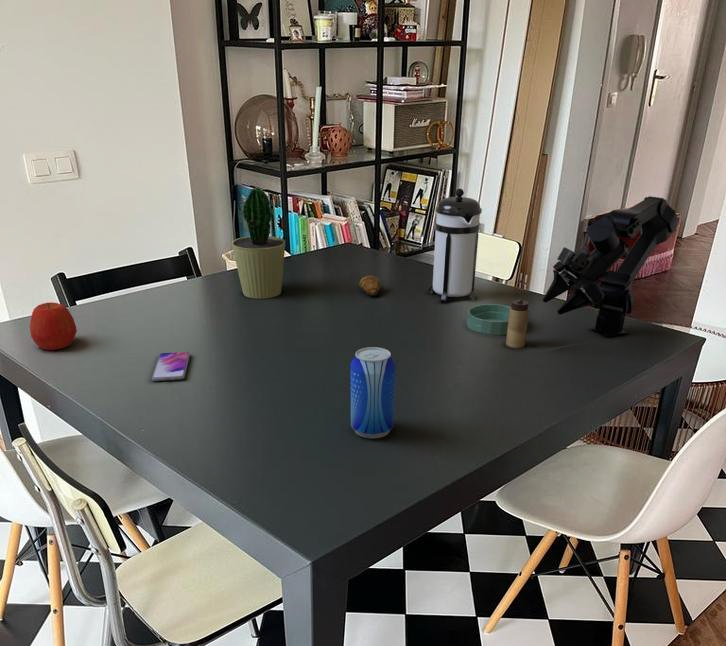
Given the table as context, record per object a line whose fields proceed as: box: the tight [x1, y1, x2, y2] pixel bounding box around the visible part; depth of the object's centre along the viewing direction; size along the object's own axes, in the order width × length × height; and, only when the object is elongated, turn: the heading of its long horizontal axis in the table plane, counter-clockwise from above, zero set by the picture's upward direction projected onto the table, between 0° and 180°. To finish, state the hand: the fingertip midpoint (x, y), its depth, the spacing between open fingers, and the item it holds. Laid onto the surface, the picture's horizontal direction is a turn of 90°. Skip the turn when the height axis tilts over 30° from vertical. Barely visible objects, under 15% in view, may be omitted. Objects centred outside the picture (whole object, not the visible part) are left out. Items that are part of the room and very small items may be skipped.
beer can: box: [350, 346, 396, 439], centre depth 140 cm, size 8×8×16 cm
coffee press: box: [428, 188, 483, 304], centre depth 209 cm, size 17×16×30 cm
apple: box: [29, 301, 78, 351], centre depth 179 cm, size 11×11×11 cm
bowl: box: [466, 303, 511, 336], centre depth 193 cm, size 14×14×4 cm
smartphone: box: [151, 351, 191, 382], centre depth 169 cm, size 7×1×15 cm
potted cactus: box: [231, 186, 286, 300], centre depth 210 cm, size 15×15×30 cm
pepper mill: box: [505, 298, 530, 349], centre depth 179 cm, size 5×5×12 cm
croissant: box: [358, 274, 382, 298], centre depth 218 cm, size 14×7×5 cm, turn 10°
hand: (550, 307), depth 179 cm, fingers open, 9 cm apart
